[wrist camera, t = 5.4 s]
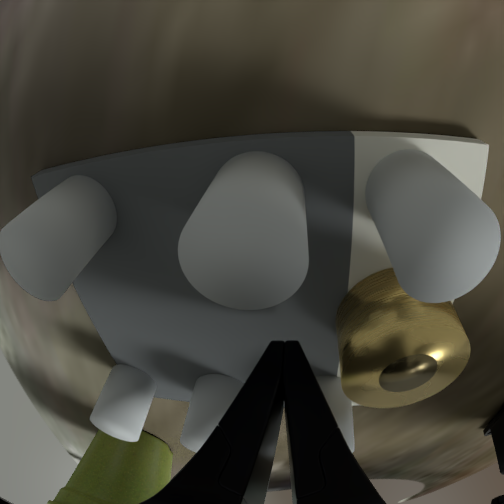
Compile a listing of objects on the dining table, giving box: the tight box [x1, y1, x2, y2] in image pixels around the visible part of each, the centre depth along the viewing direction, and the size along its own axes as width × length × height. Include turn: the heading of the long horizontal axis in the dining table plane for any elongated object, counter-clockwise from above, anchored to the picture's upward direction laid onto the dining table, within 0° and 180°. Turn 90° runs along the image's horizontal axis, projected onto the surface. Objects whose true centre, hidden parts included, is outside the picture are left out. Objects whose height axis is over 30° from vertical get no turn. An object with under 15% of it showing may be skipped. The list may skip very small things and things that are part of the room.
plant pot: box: [47, 429, 173, 504], centre depth 17 cm, size 9×9×9 cm
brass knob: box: [336, 268, 471, 408], centre depth 9 cm, size 4×4×3 cm
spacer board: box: [0, 131, 501, 453], centre depth 10 cm, size 15×12×4 cm
